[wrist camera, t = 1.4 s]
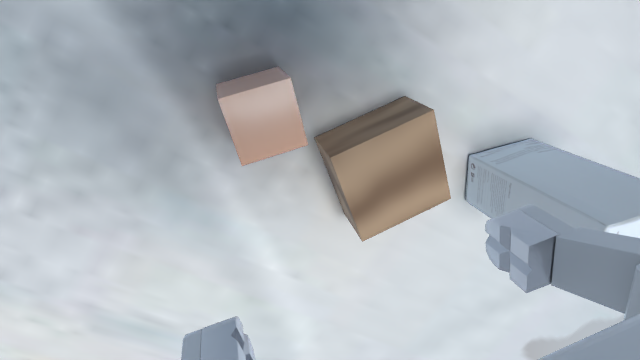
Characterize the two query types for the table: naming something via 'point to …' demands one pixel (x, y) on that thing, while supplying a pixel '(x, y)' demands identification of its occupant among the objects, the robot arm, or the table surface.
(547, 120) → the table surface
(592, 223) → the skincare box
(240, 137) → the terracotta cube
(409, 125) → the walnut block
